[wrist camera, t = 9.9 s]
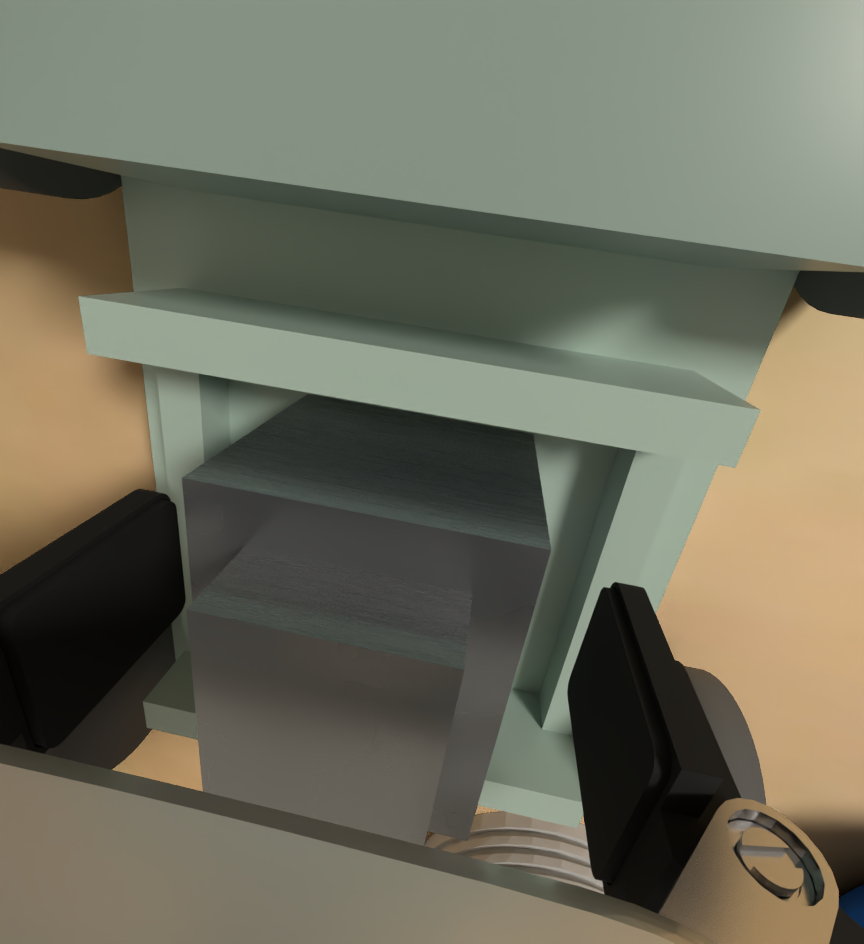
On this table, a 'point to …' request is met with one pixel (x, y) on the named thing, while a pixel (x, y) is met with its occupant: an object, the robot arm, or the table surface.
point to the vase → (854, 904)
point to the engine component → (526, 847)
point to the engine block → (361, 611)
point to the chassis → (458, 262)
